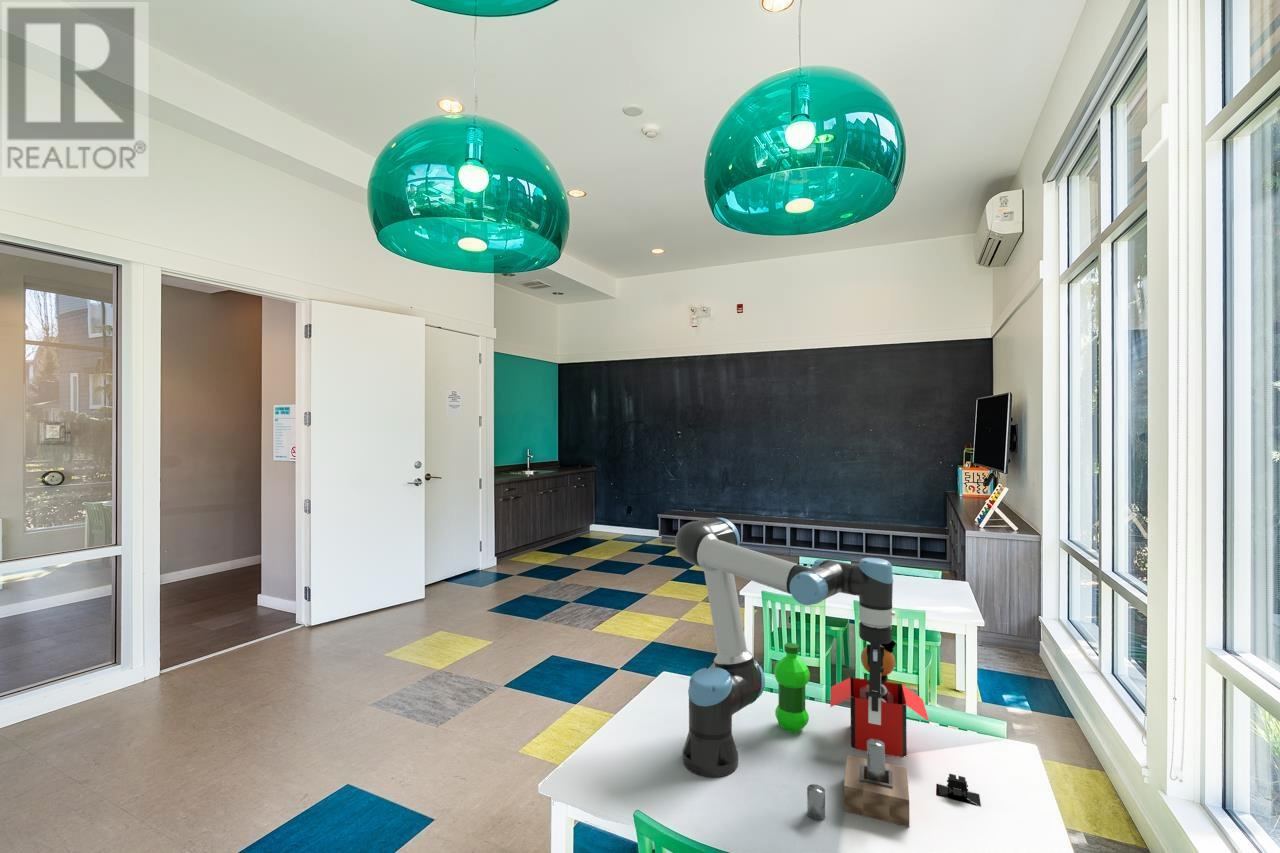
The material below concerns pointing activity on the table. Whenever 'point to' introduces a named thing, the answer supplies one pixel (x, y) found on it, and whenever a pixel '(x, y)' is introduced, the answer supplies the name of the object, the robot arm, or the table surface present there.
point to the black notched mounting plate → (958, 791)
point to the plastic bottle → (791, 690)
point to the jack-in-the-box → (891, 707)
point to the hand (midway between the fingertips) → (874, 710)
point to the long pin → (876, 760)
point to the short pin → (816, 802)
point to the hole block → (877, 792)
